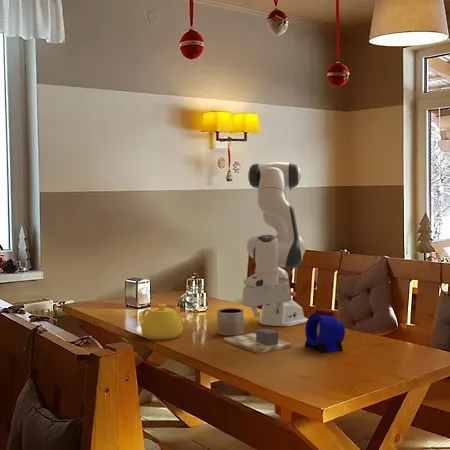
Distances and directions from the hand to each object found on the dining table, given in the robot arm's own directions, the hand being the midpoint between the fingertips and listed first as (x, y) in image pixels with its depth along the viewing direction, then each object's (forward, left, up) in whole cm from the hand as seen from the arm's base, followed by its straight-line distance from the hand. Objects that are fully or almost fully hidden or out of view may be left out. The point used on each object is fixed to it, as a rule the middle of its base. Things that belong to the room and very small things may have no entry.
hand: (267, 315), depth 242 cm
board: (0, -6, -12) cm, 13 cm away
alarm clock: (-18, +13, -12) cm, 25 cm away
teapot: (+23, -40, -12) cm, 48 cm away
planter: (0, -26, -12) cm, 28 cm away
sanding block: (0, +1, -11) cm, 11 cm away
